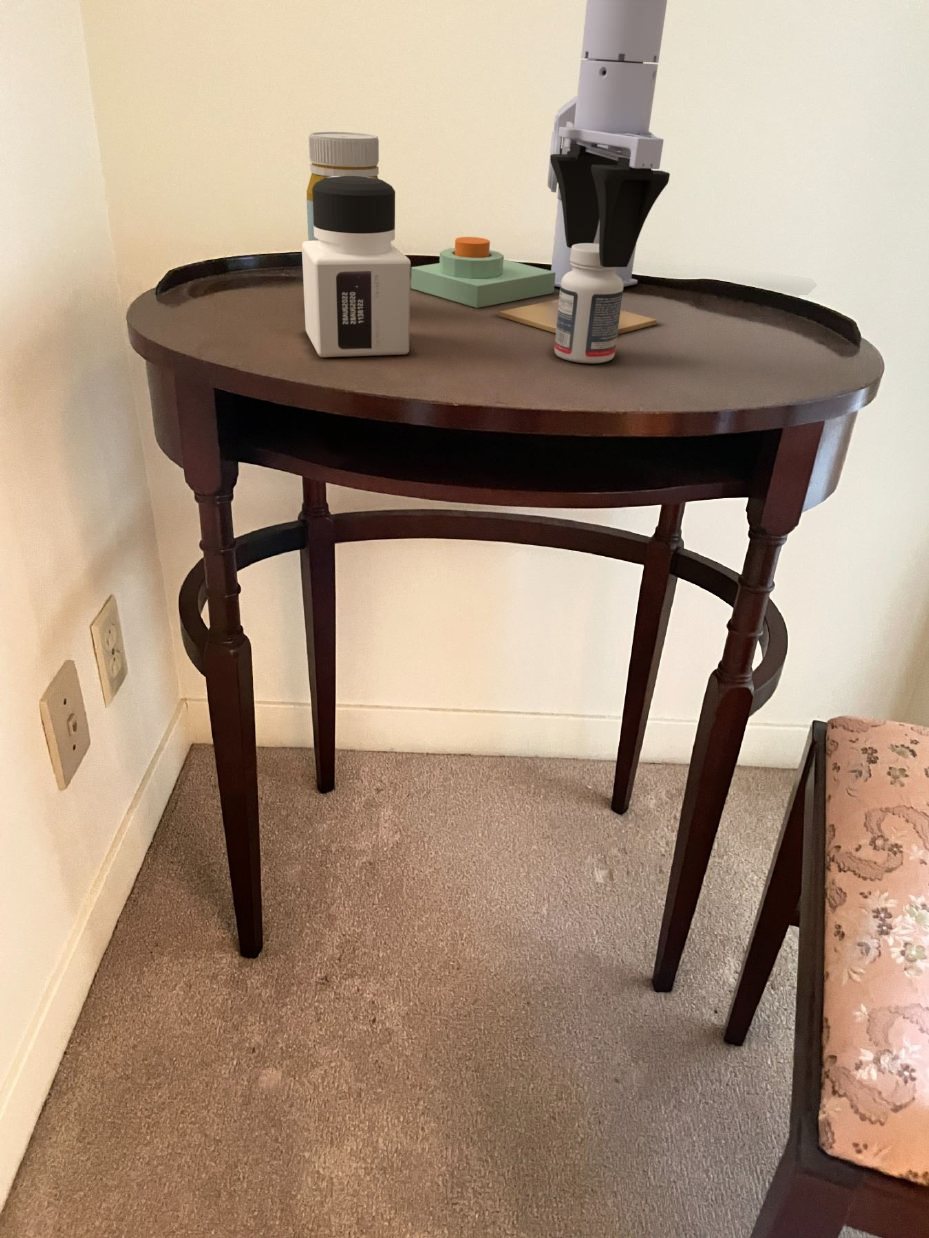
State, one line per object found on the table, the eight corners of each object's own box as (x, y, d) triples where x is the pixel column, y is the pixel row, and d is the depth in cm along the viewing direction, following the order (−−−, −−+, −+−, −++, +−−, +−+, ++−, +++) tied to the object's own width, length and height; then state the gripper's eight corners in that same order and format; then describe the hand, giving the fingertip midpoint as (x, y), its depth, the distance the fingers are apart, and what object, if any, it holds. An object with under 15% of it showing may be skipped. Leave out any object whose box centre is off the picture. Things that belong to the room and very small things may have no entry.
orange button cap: (471, 253, 96) (472, 235, 95) (495, 259, 94) (497, 241, 93) (447, 256, 94) (448, 238, 93) (471, 262, 92) (472, 244, 91)
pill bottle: (619, 352, 79) (634, 246, 75) (607, 368, 75) (623, 256, 70) (561, 344, 81) (572, 239, 76) (546, 359, 77) (557, 249, 72)
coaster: (569, 301, 95) (570, 296, 94) (655, 324, 88) (656, 319, 88) (498, 316, 88) (499, 311, 88) (586, 342, 82) (586, 337, 81)
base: (488, 275, 103) (490, 238, 101) (553, 293, 98) (557, 254, 95) (410, 288, 96) (411, 249, 94) (477, 308, 90) (479, 266, 88)
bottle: (371, 320, 84) (370, 141, 76) (301, 313, 85) (292, 135, 77) (391, 304, 90) (392, 135, 82) (325, 297, 91) (319, 129, 83)
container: (410, 355, 75) (413, 185, 68) (318, 359, 73) (311, 184, 66) (390, 331, 82) (390, 173, 75) (305, 333, 80) (297, 171, 73)
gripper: (536, 57, 71) (522, 239, 78) (606, 62, 59) (582, 276, 67) (618, 61, 73) (597, 240, 80) (702, 67, 61) (668, 275, 68)
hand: (595, 256), depth 74 cm, fingers open, 7 cm apart
